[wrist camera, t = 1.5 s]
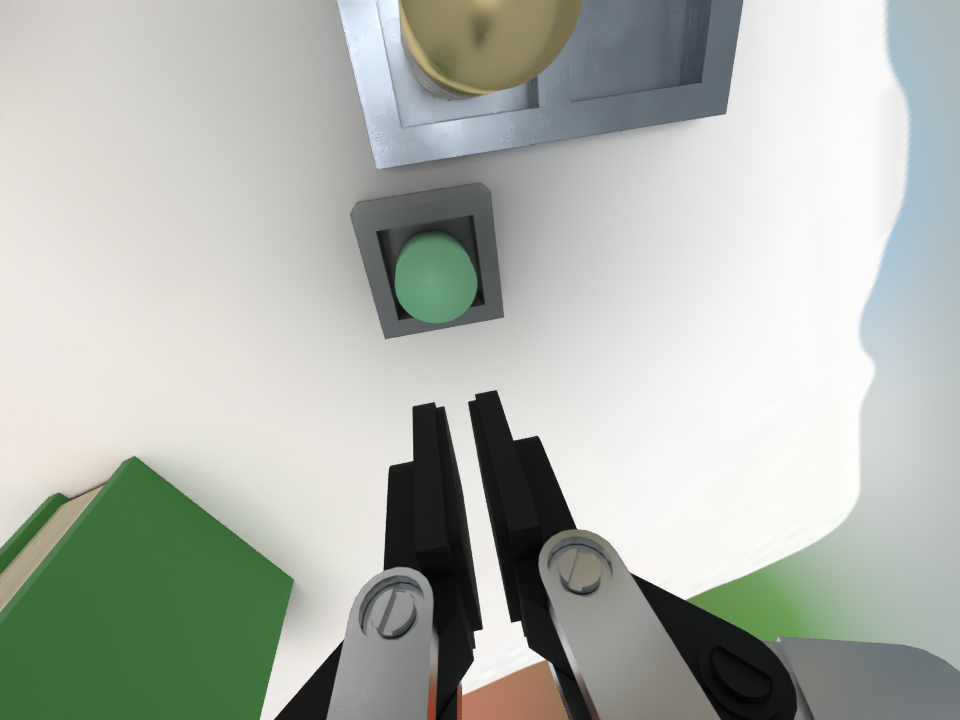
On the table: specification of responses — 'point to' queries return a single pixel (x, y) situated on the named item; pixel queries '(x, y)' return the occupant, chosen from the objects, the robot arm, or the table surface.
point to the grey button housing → (405, 215)
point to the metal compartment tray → (550, 80)
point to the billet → (483, 42)
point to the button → (434, 277)
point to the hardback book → (135, 609)
